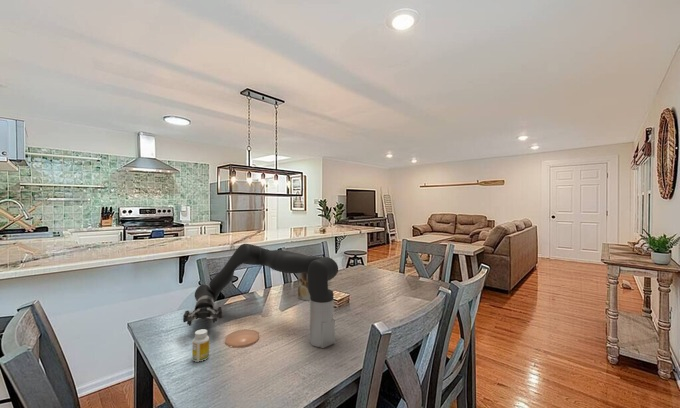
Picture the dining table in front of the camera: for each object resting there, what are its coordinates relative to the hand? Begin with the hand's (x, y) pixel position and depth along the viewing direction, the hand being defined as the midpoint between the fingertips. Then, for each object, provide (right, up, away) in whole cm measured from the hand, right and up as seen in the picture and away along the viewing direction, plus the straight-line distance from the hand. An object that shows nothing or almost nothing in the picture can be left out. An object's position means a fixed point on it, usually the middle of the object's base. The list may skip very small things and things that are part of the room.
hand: (202, 321), depth 117 cm
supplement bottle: (+4, -9, -10) cm, 15 cm away
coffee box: (+35, -8, +53) cm, 64 cm away
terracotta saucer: (+14, -9, +4) cm, 17 cm away
